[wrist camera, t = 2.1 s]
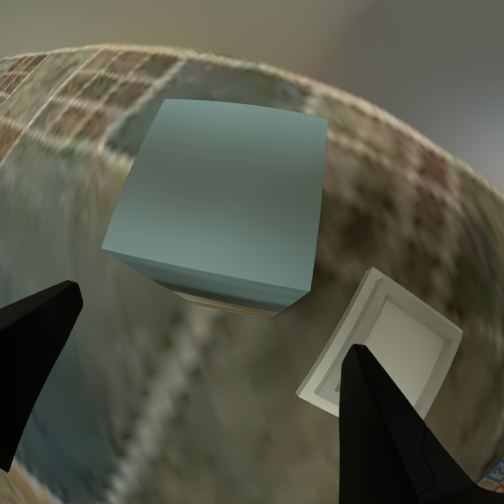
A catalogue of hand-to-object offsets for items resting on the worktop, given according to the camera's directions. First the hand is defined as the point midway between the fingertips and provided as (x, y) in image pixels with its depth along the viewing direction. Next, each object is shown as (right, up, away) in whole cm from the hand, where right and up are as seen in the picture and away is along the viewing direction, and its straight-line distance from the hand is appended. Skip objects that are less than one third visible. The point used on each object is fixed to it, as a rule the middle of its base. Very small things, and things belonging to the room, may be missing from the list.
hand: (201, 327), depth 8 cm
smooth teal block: (+1, +1, +11) cm, 11 cm away
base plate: (+11, -6, +9) cm, 16 cm away
